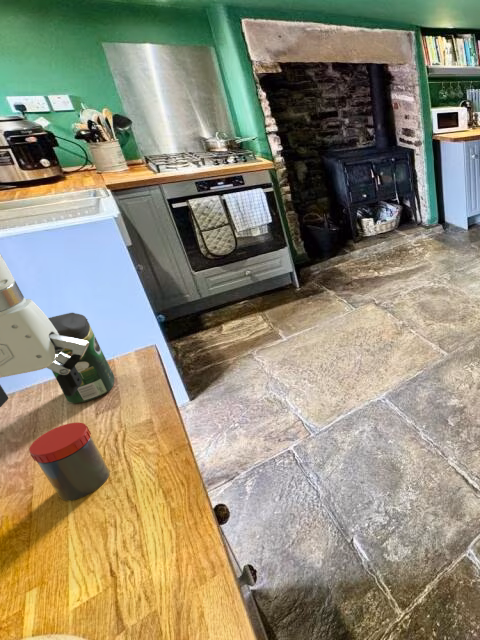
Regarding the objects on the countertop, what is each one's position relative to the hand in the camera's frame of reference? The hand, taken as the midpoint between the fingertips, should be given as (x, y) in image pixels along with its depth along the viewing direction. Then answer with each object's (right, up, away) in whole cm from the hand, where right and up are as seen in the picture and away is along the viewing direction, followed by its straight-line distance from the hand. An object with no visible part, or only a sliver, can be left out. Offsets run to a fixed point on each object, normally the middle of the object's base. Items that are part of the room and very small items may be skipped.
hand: (37, 397), depth 63 cm
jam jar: (-1, -18, +8) cm, 20 cm away
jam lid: (-1, -8, +3) cm, 9 cm away
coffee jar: (-21, -8, +28) cm, 36 cm away
